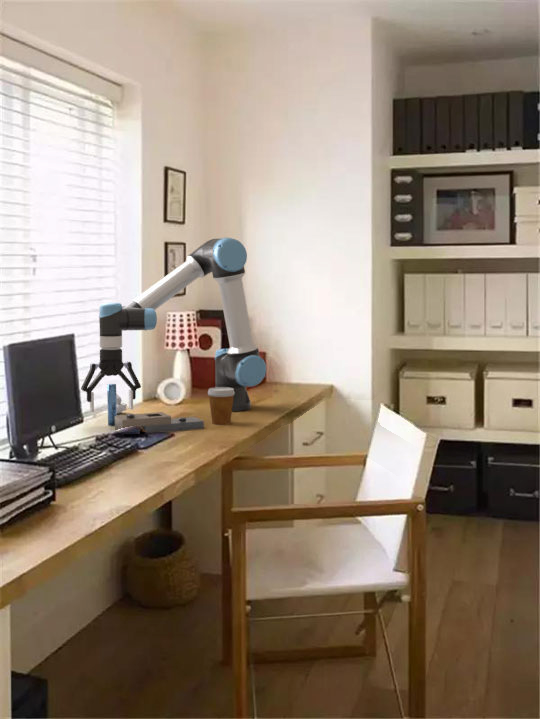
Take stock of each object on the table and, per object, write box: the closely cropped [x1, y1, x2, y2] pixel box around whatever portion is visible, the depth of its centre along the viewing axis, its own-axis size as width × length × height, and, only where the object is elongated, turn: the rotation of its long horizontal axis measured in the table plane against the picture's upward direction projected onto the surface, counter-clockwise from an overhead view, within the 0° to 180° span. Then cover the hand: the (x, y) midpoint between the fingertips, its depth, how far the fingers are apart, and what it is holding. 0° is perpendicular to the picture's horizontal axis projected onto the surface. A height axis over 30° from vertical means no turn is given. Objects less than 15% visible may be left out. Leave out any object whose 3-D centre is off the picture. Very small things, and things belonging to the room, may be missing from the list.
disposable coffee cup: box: [207, 386, 235, 426], centre depth 302 cm, size 10×10×12 cm
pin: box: [106, 383, 118, 427], centre depth 299 cm, size 3×3×14 cm
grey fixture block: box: [114, 411, 205, 434], centre depth 291 cm, size 28×9×6 cm, turn 115°
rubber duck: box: [116, 393, 128, 415], centre depth 321 cm, size 5×7×8 cm
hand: (111, 410), depth 299 cm, fingers open, 13 cm apart
